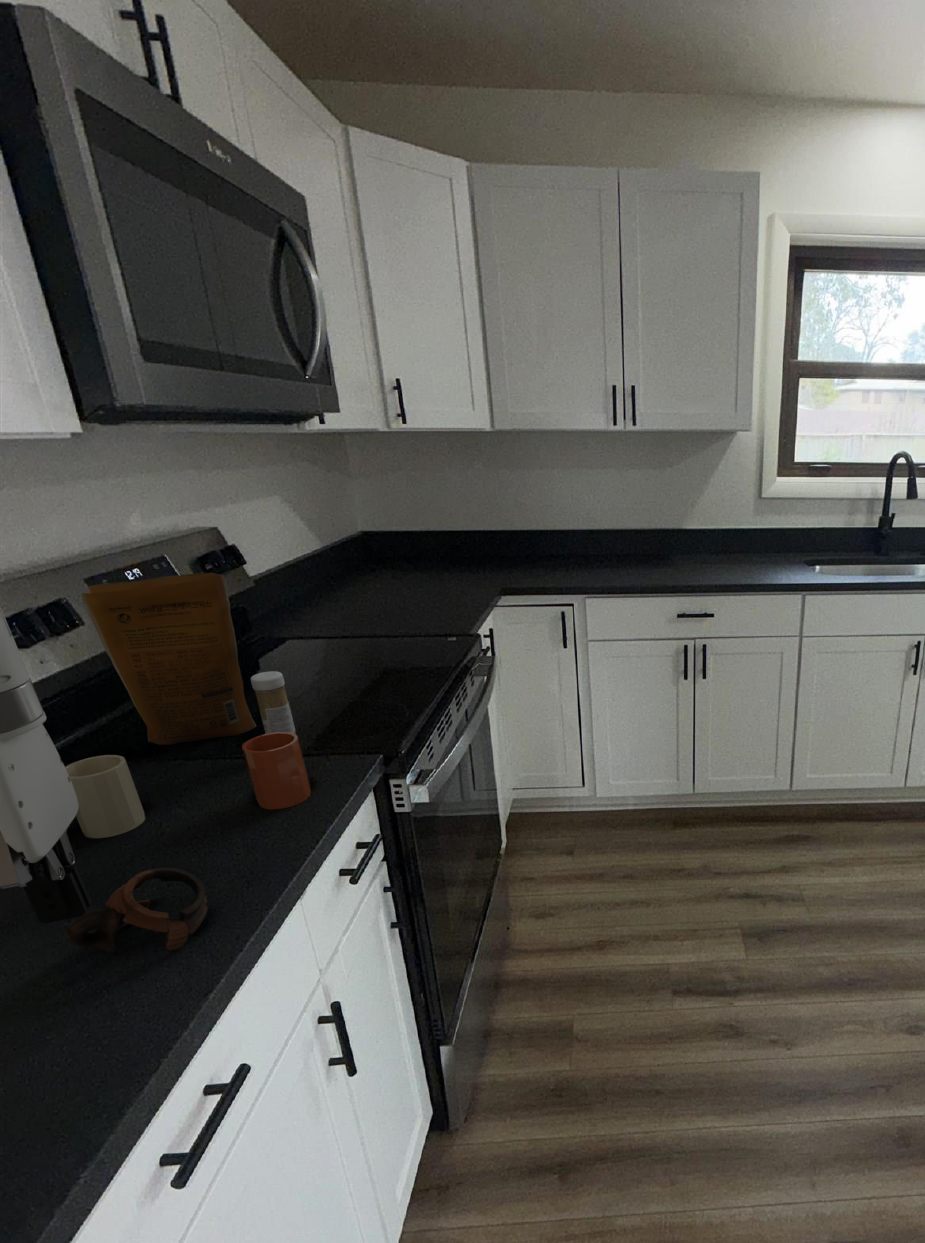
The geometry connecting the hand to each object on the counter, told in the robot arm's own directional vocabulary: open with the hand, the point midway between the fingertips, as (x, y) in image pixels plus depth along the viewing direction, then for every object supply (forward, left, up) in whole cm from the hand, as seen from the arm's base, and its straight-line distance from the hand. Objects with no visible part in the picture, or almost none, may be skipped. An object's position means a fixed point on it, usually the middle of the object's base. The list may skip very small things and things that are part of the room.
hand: (67, 913), depth 62 cm
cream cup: (-11, +43, -13) cm, 46 cm away
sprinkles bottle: (+9, +61, -13) cm, 63 cm away
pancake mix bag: (-5, +73, -13) cm, 75 cm away
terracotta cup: (+10, +43, -13) cm, 46 cm away
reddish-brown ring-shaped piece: (0, +13, -13) cm, 18 cm away
